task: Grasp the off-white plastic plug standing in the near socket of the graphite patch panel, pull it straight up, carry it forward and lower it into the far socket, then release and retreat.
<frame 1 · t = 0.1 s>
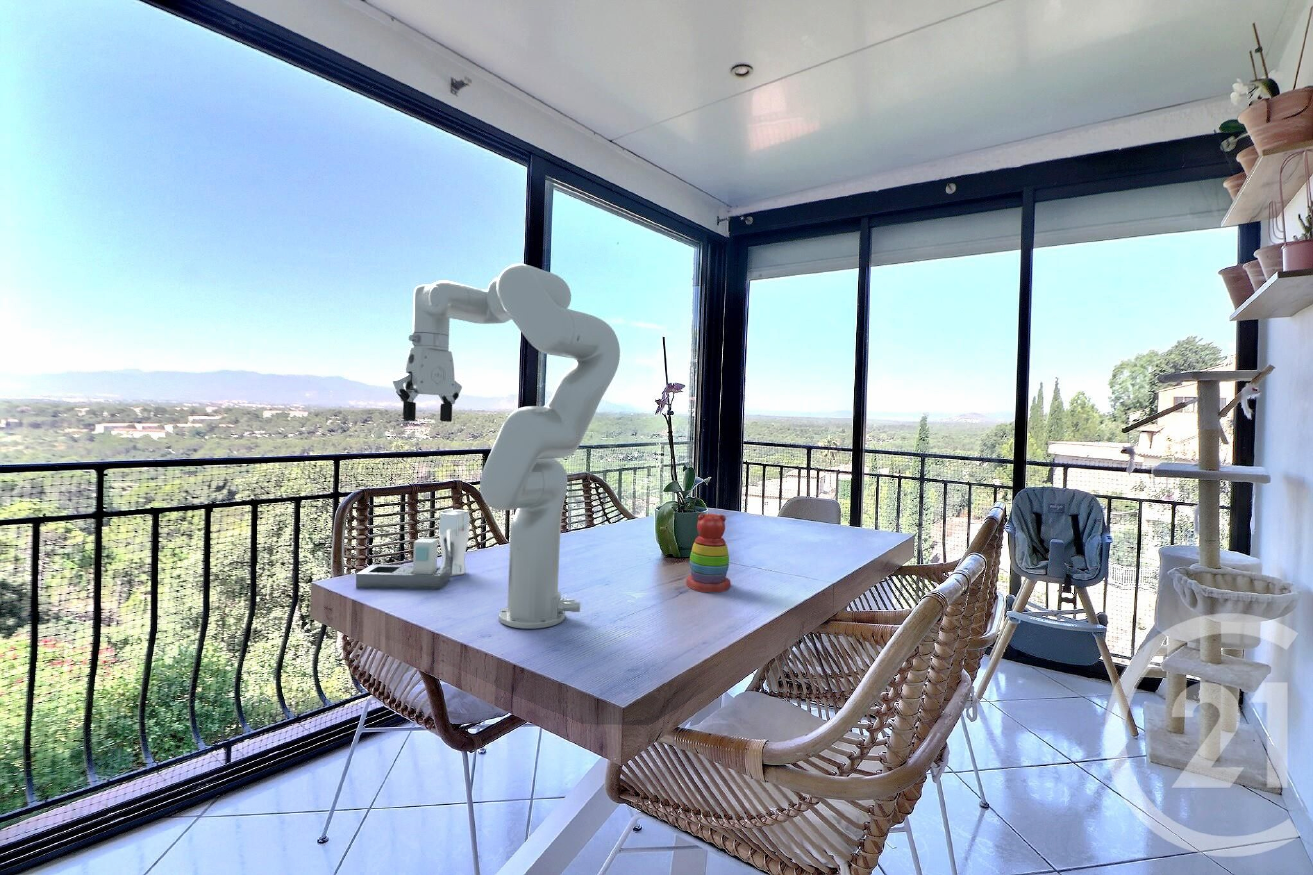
hand: (428, 421, 132), 37 cm above the table, tool pointing down, fingers open, 9 cm apart
beer glass: (452, 573, 146), on the table
stacking bear: (708, 588, 143), on the table
plug: (424, 584, 136), resting in panel
panel: (404, 583, 135), on the table
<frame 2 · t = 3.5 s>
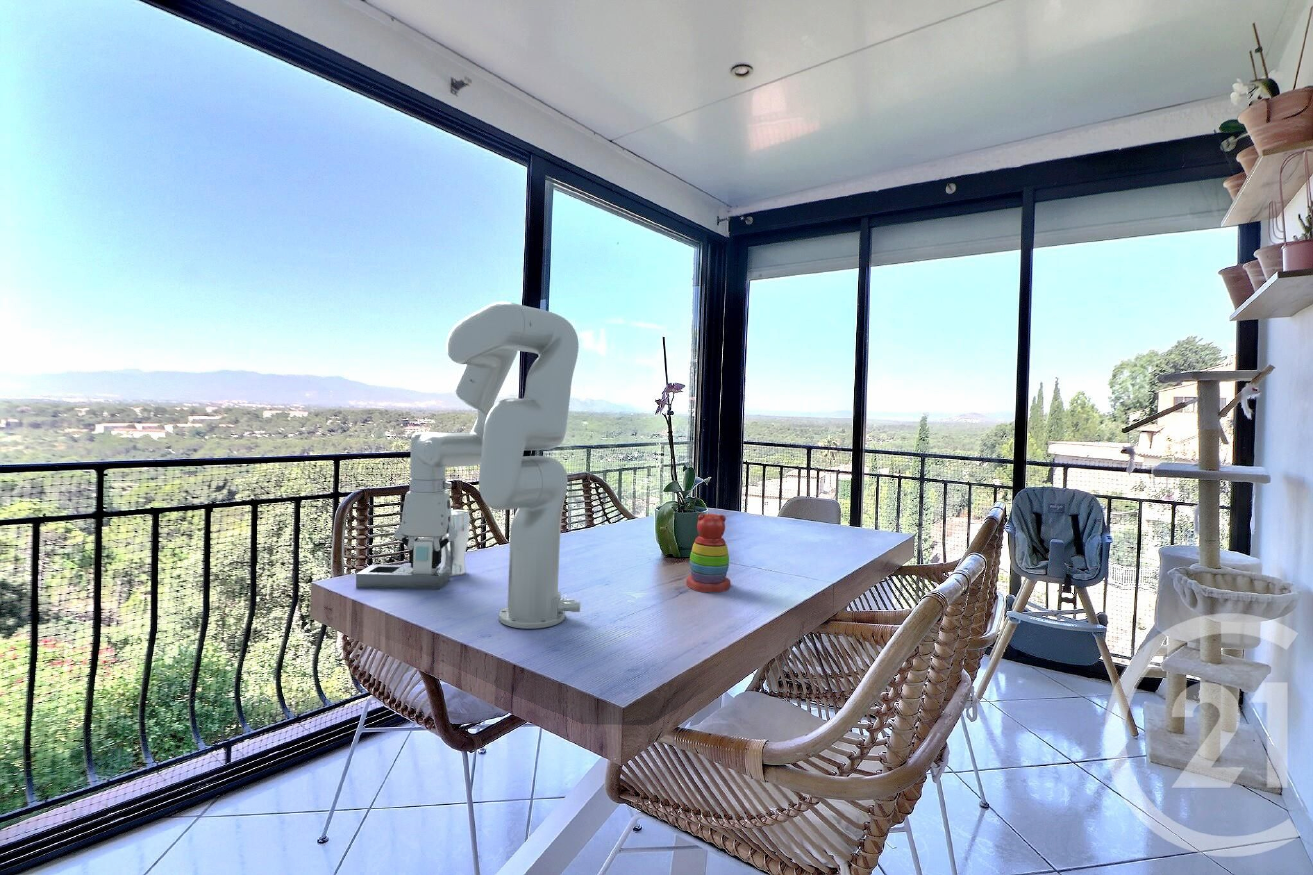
hand: (425, 565, 135), 4 cm above the table, tool pointing down, fingers closed on plug, 4 cm apart
plug: (424, 583, 136), resting in panel, touching gripper
everything else where it was.
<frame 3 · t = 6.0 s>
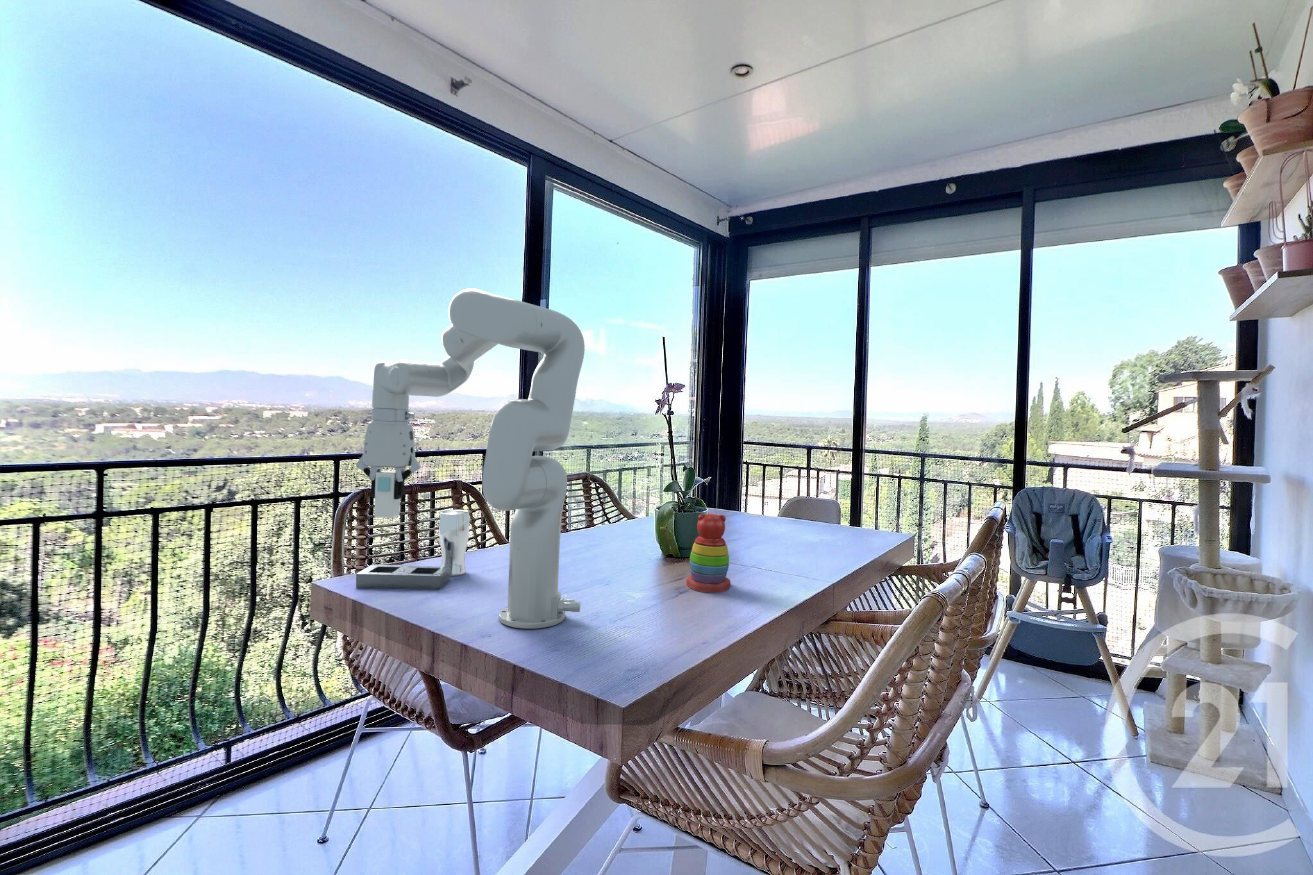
hand: (387, 497, 135), 19 cm above the table, tool pointing down, fingers closed on plug, 4 cm apart
plug: (387, 516, 135), point 15 cm above the table, touching gripper
everything else where it was.
when the fingers open (5 cm above the table, at t = 8.8 s): plug stays where it is, resting in panel.
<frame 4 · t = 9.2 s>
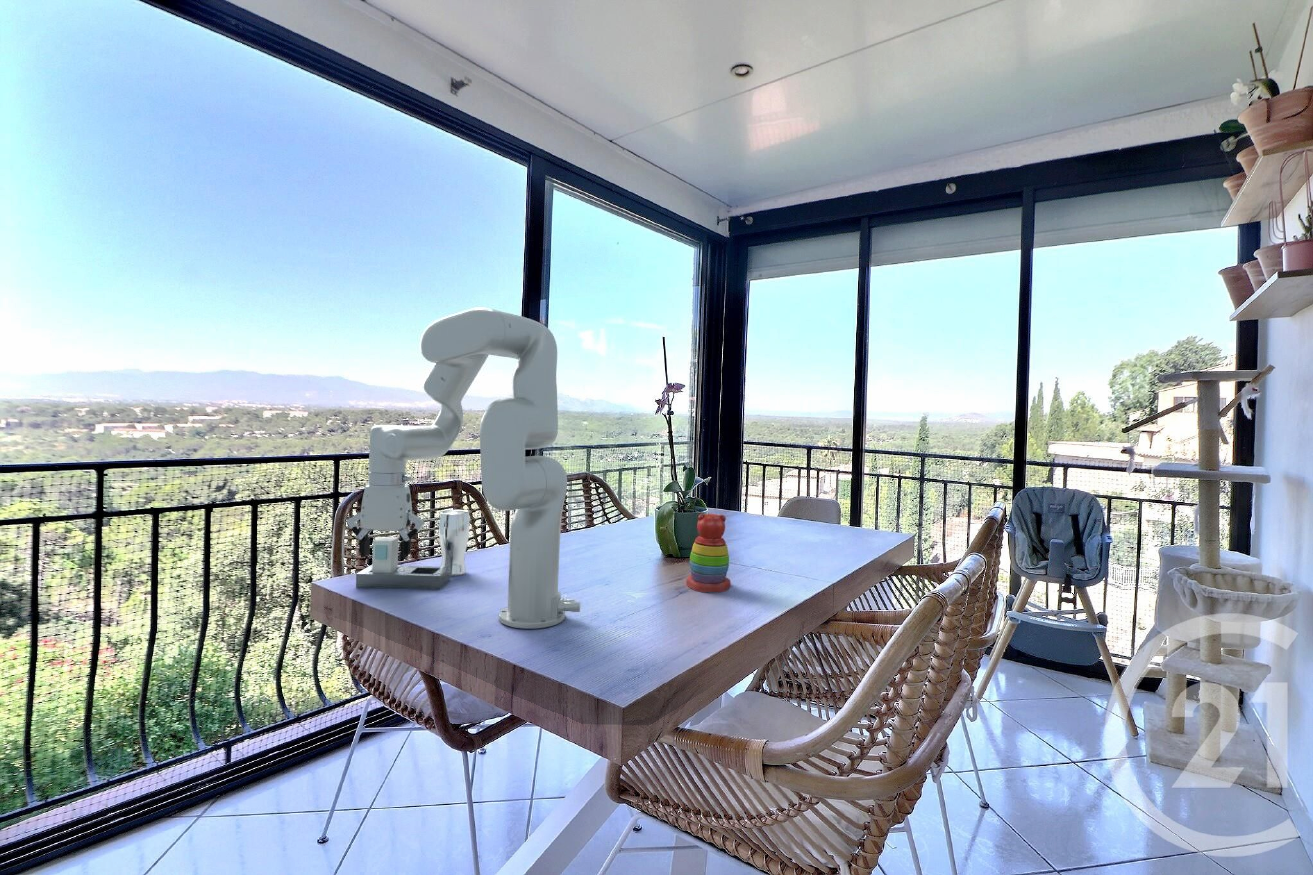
hand: (384, 556, 135), 6 cm above the table, tool pointing down, fingers open, 8 cm apart
plug: (384, 582, 135), resting in panel
everything else where it was.
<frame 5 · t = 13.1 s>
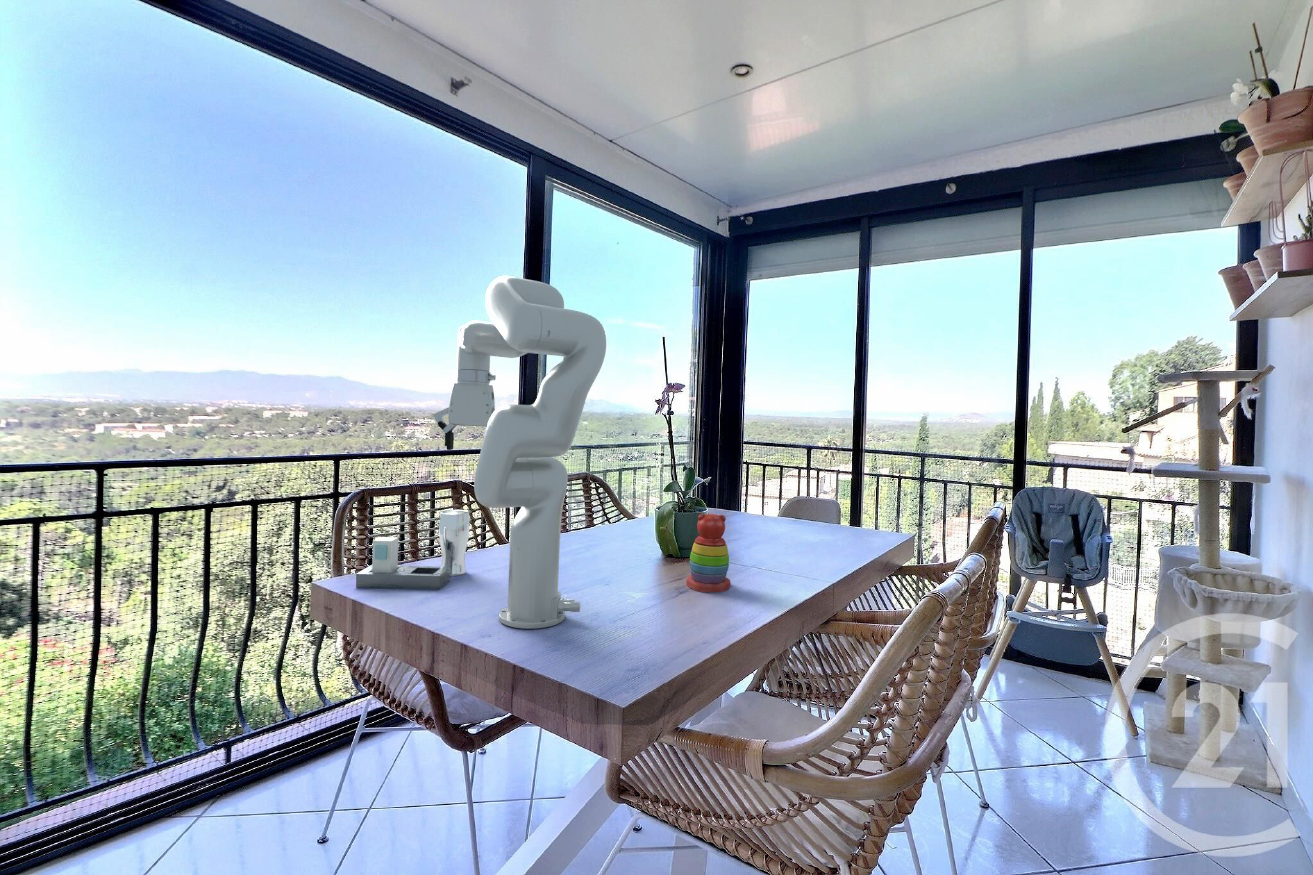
hand: (470, 450, 142), 30 cm above the table, tool pointing down, fingers open, 9 cm apart
nothing on the table moved.
at the end: plug 0.1 cm from the target spot on the panel, point 0.0 cm above the panel's base; plug tilted 0°; the gripper is holding nothing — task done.
